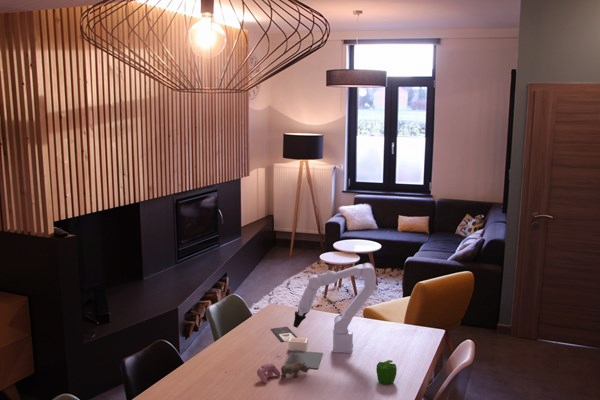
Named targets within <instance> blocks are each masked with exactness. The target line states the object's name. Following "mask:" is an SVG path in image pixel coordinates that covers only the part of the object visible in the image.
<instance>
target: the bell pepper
mask: <svg viewBox="0 0 600 400" xmlns="http://www.w3.org/2000/svg"><path fill="white" fill-rule="evenodd" d="M397 369H398V368H397V364H396V363H393V360H392V359H388V360H386V361H378V363H377V365H376V371H375V372H376V376H377V381H378V384H380V385H384V386H385V385H392V384H393V383H394V382H395V380H396V376H397V373H398V372H397Z"/></svg>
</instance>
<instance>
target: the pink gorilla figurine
mask: <svg viewBox="0 0 600 400" xmlns="http://www.w3.org/2000/svg"><path fill="white" fill-rule="evenodd" d="M256 375H257V376H258V377H259V379H260V380H261V382H262V383H263V384H267V383H268V378H271V377H273V375H275V376H277V377H280V378H281V371H279V369H278V368H277V366H276V365H275V364H273V363H271V362H270V363H265V364H263V365H261V366H259V368H258V369H257V370H256Z"/></svg>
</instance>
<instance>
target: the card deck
mask: <svg viewBox="0 0 600 400" xmlns="http://www.w3.org/2000/svg"><path fill="white" fill-rule="evenodd" d="M308 345H309V339H308V338H306V337H298V338H292V337H290V339H289V341H288V348H287V349H288V351H291V350H293V351H308V347H309V346H308Z"/></svg>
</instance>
